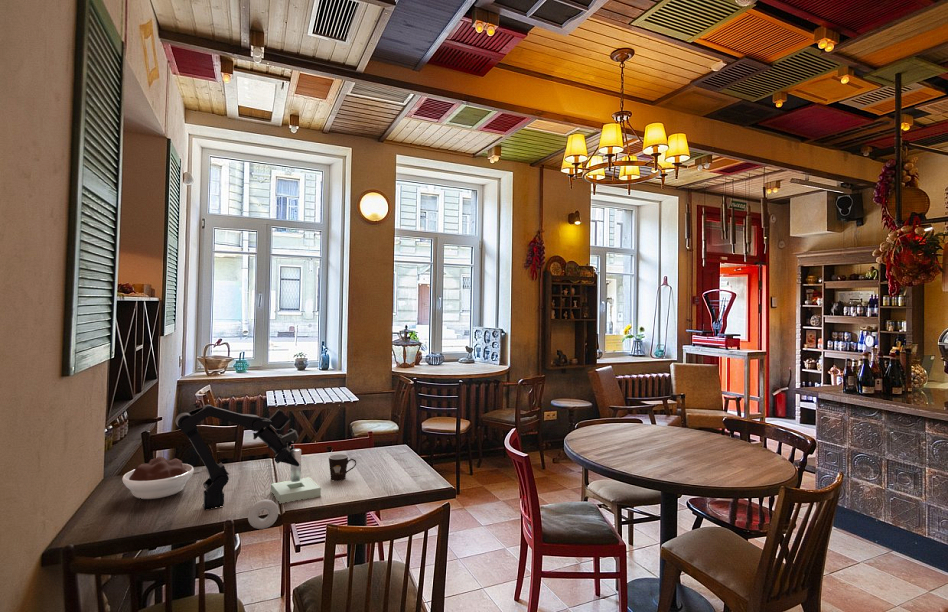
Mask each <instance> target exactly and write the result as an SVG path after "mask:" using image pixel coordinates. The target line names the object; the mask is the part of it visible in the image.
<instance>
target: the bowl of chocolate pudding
mask: <svg viewBox="0 0 948 612" xmlns="http://www.w3.org/2000/svg"><path fill="white" fill-rule="evenodd" d="M194 471H195V469H194V466H193V465H191V464H188V463H183V461H182V460H181V459H178V458H173V459H171V460H168V459H166V458H165V457H163V456H157V457H155V458H151V459H150V460H149V461H148V463H145V462H144V463H142V464H141V463H140V464H139V465H138V466H137V467H136V468H135V469H132V470H130V471H128V472H126V473H125V474H124V475H123V476H122V483H123V485H124V486H125V487H126V488H127V489H128V490H129V491H130V493H131V494H132V495H133V497H134V498H137V499H140V498H141V499H142V500H152V499H153V500H154V499H162V498H165V497H166V498H167V497H169V496H173V495H176V494H178V493H180V491H182V490H183V489H184V488H185V486H186V484H187V482H188V481H189V480H190V479H191V477H192V476H193V474H194Z"/></svg>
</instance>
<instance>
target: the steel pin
mask: <svg viewBox="0 0 948 612" xmlns="http://www.w3.org/2000/svg"><path fill="white" fill-rule="evenodd" d="M292 455H293V456H294V458H295V459H296V460H297V461H298V463H299V464H300V465H299V466H298V467H297V466H294V465H291V464H290V480H289V481H291V482H297V481H300V480H301V479H302V478H301V476H302V474H301V473H302V449H301V448H294V449H292Z"/></svg>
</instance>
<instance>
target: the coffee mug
mask: <svg viewBox="0 0 948 612" xmlns="http://www.w3.org/2000/svg"><path fill="white" fill-rule="evenodd" d="M351 461H353V462H354V465H353V466H352V467H350V468H349V469H347V468H348V464H349V462H351ZM328 464H329V475H330V480H331V481H332V480H334V481H333V482H341V481H344V480H346V476H347V473H348V472H349V471H352V470H353V469H354V468H355V467H356V466H357V460H356V459H354V458H350V459H349V456H348V454H344V453H343V454H342V453H340V454H339V453H336V454H331V455H329V456H328ZM340 480H341V481H340Z"/></svg>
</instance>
